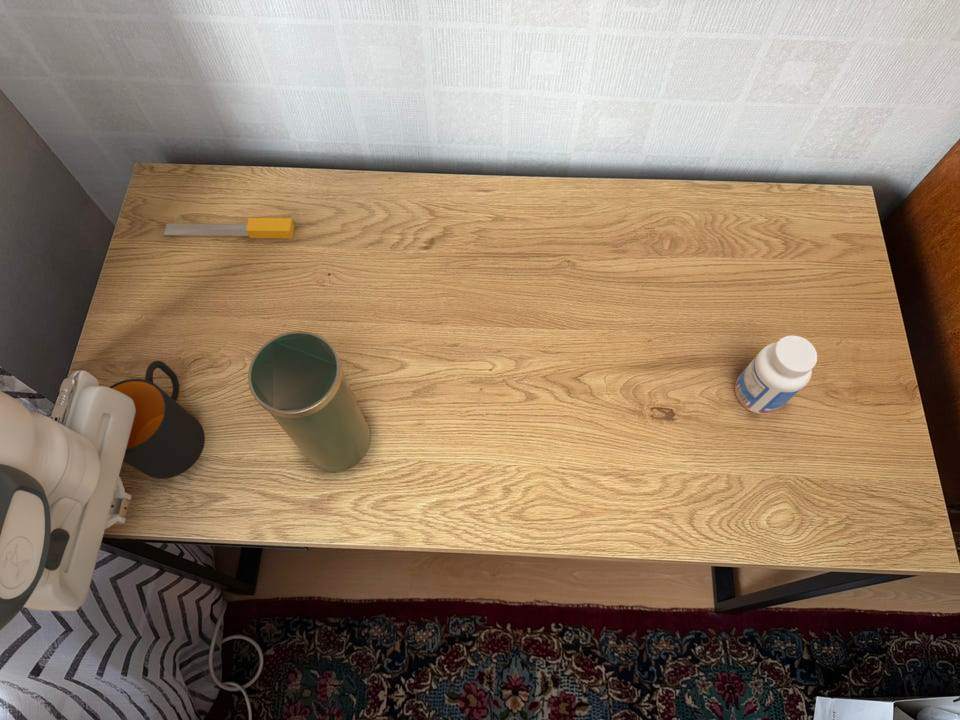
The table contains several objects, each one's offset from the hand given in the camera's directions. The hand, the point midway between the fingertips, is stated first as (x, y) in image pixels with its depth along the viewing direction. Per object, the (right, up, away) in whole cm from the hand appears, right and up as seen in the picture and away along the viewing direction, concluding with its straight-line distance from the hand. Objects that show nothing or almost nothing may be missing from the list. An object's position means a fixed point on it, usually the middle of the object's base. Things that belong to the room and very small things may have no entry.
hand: (121, 509), depth 65 cm
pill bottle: (+72, +11, +14) cm, 74 cm away
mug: (0, +7, +12) cm, 13 cm away
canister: (+20, +6, +11) cm, 23 cm away
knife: (+2, +34, +24) cm, 41 cm away
